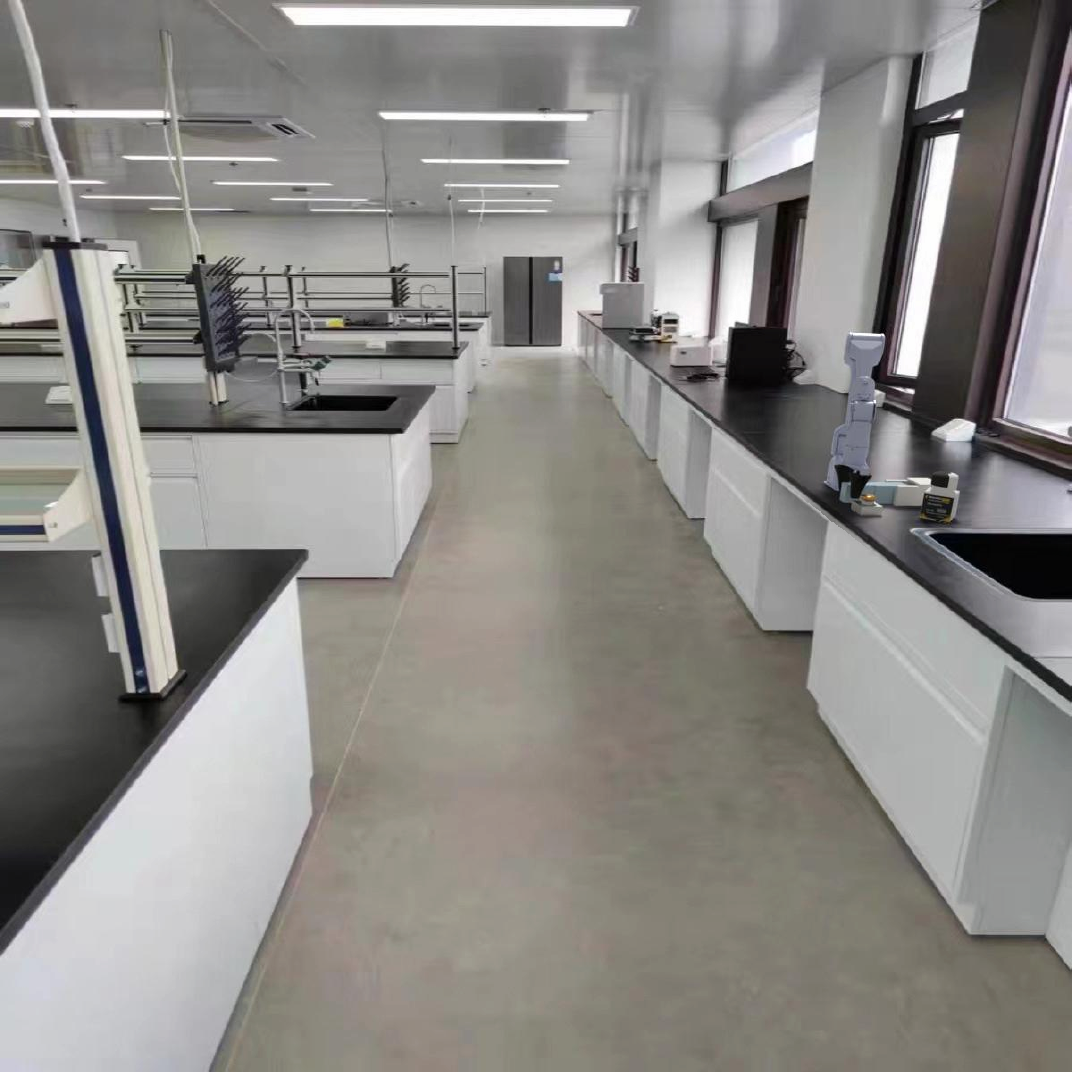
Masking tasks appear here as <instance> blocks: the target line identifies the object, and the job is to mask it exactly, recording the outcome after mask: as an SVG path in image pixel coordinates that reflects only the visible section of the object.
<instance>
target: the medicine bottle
mask: <svg viewBox="0 0 1072 1072" xmlns="http://www.w3.org/2000/svg"><path fill="white" fill-rule="evenodd" d="M930 479H931V483H930V488H928V489H927V490H926V491H925V492H924V496H923V501H922V506H921V507H920V511H919V518H920V519H925V520H931V521H936V520H940V521H939V522H941V521H947V522H950V521H951V520H952V521H953V519H955V517H956V512H957V508H958V505H959V499H960V495H961V494H960V493H961V492H960V490H957V488H958V483H959V475H958V474H956V473H954V472H950V471H947V470H943V471H941V470H939V471H934V472H933V473H932V474H931V478H930ZM952 521H951V522H952ZM951 522H950V523H951Z"/></svg>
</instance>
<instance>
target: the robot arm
mask: <svg viewBox="0 0 1072 1072" xmlns="http://www.w3.org/2000/svg"><path fill="white" fill-rule="evenodd" d="M885 345H886V336H885V334H884V333H859V332H858V333H857V332H849V333H847V335H846V339H845V347H844V355H843V356H844V357H843V360H844V364H845V365H847V366H848V367H849V368H850V382H849V390H848V397H847V405H846V413H845V422H844V423H843V424H842V425H840V426H838V427H836V428H835V430H834V431H833V437H832V441H831V449H830V453H831V454H830V455H832V456H833V457H832V458H830V461H829V463H828V468H827V469H828V470H827V478H826V480H824V481H823V483H824V484H825V485H826V486H828V487H830V488H831V489H833V490H834V491H835V492H836V491H837V492H841V487H842V482H851V491H850V496H851V498H852V499H859V498H860V496H861V493H862V491H863V489H864V487H865V485H866V484H867V483H869V481H870V480H871V479H872V478H873V475H872V474H871V473H870V470H871V469H870V467H868V464H867V462H866V461H867V457H868V456H869V452H870V446H871V445H870V444H871V443H870V442H871V440H870V439H871V438H870V437H871V431H872V424H873V423H874V421H875V419H876V416H877V400H876V398H875V393H876V392H875V391H876V390H875V389H876V382H875V381H874V379H873V378H872V372H873V367H875V366H878V365H879V363H880V361H881V358H882V356H883V354H884V349H885Z"/></svg>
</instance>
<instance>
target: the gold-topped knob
mask: <svg viewBox="0 0 1072 1072" xmlns="http://www.w3.org/2000/svg"><path fill="white" fill-rule="evenodd" d="M876 498H877V497H876V496H875V495H871V494H862V495H861V499H862V502H861V504H862V505H864V506H873V505H874V500H876Z"/></svg>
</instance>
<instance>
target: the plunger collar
mask: <svg viewBox="0 0 1072 1072" xmlns="http://www.w3.org/2000/svg"><path fill="white" fill-rule="evenodd" d="M861 502H862V501H852V503H851V508H850V510H852V511H853V512H855V511H856V512H857V513H856V512H855V513H856V514H858V513H859V514H860V515H859V514H858V515H859V516H883V509H884V506H883V505H882V504H878V503H876V502H874V505H873V506H864V505H862V504H861Z"/></svg>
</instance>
